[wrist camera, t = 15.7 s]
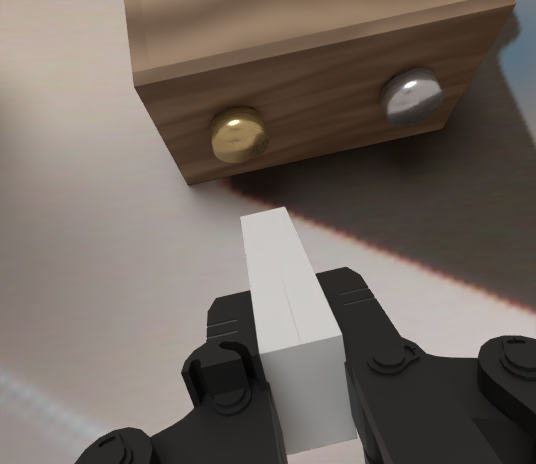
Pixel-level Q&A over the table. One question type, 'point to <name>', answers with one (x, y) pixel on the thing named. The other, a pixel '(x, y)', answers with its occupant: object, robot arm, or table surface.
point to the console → (297, 69)
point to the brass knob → (238, 135)
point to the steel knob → (411, 97)
